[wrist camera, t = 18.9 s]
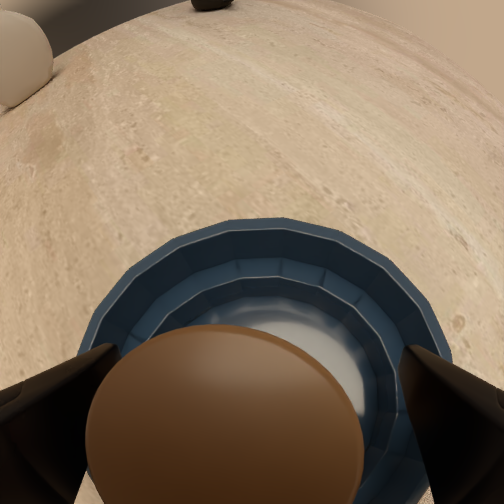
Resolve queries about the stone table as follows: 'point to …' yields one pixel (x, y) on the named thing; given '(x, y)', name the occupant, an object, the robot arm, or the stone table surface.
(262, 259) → the bowl
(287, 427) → the wooden peg stand
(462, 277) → the stone table surface
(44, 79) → the soap bottle
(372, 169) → the stone table surface
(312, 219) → the stone table surface
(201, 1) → the mug
